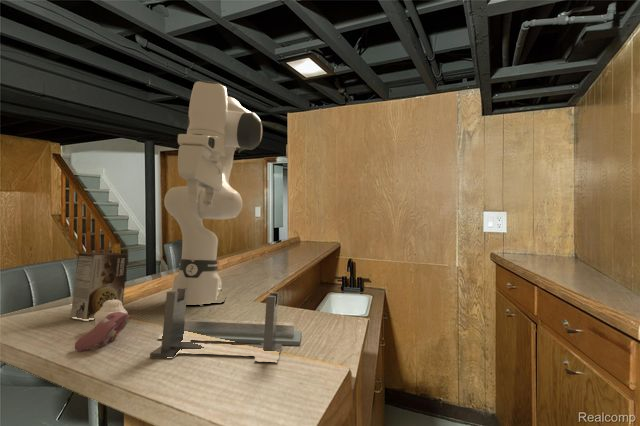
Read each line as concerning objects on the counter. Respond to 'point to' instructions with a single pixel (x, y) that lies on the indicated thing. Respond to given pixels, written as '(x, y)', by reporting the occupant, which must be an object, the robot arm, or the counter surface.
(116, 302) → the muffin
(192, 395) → the counter surface
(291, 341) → the slate mat
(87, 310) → the coffee box
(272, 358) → the counter surface
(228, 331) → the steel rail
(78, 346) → the video game controller
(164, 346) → the rail rack
